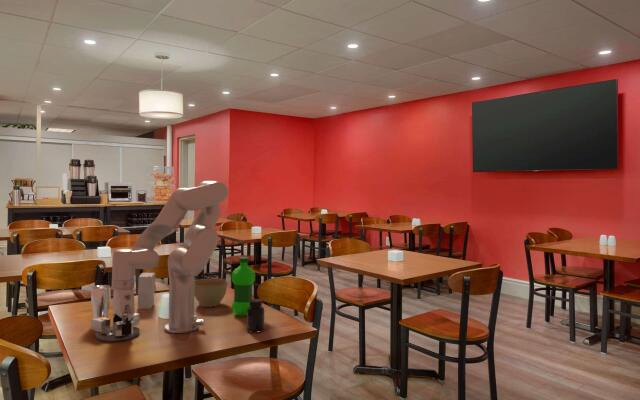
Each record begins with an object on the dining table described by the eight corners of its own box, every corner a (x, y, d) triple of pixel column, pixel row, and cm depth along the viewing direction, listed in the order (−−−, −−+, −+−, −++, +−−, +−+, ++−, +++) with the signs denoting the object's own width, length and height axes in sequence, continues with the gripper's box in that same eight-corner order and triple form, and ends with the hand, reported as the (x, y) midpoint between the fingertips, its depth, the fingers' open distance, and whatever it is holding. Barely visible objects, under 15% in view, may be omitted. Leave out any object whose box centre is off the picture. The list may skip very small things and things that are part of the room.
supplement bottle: (257, 326, 184) (257, 297, 183) (267, 330, 179) (268, 300, 178) (243, 330, 179) (243, 299, 178) (253, 334, 174) (254, 303, 174)
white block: (99, 328, 172) (100, 315, 171) (110, 331, 169) (110, 318, 168) (91, 331, 168) (91, 317, 168) (101, 334, 165) (101, 320, 165)
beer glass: (102, 327, 178) (102, 289, 177) (86, 326, 179) (87, 288, 178) (114, 322, 184) (114, 285, 184) (98, 320, 186) (99, 284, 185)
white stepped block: (132, 328, 173) (132, 315, 172) (119, 326, 175) (120, 313, 174) (139, 326, 176) (139, 313, 176) (126, 324, 178) (126, 311, 178)
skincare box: (141, 304, 212) (141, 272, 211) (155, 304, 213) (155, 272, 212) (137, 309, 203) (137, 276, 203) (151, 309, 204) (151, 276, 204)
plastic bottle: (250, 318, 194) (251, 260, 193) (227, 316, 196) (228, 259, 195) (257, 312, 204) (259, 256, 203) (235, 310, 205) (236, 255, 204)
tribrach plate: (146, 329, 177) (146, 324, 177) (127, 343, 162) (127, 337, 162) (109, 327, 178) (109, 322, 178) (86, 341, 163) (86, 335, 163)
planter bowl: (232, 301, 220) (233, 279, 220) (217, 310, 204) (218, 286, 204) (202, 299, 224) (202, 277, 223) (185, 307, 208) (185, 284, 208)
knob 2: (112, 335, 165) (113, 321, 164) (130, 332, 168) (130, 318, 168) (116, 338, 162) (116, 324, 162) (133, 335, 166) (133, 321, 165)
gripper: (142, 287, 160) (141, 335, 161) (126, 278, 173) (124, 323, 174) (120, 289, 155) (118, 339, 156) (105, 280, 168) (103, 326, 169)
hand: (122, 330), depth 165 cm, fingers open, 9 cm apart
